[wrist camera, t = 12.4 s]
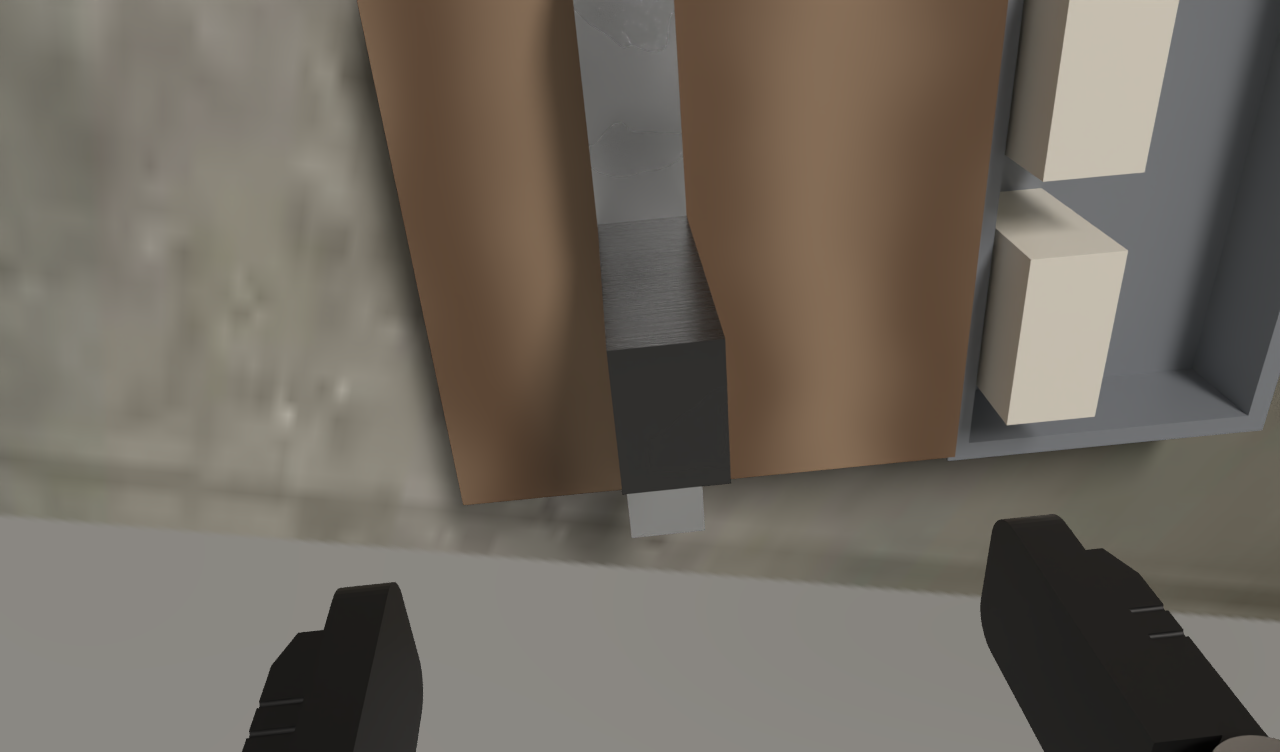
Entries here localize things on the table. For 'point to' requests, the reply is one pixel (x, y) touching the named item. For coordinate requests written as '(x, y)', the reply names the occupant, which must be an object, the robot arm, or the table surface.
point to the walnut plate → (698, 224)
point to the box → (1168, 246)
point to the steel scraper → (651, 270)
